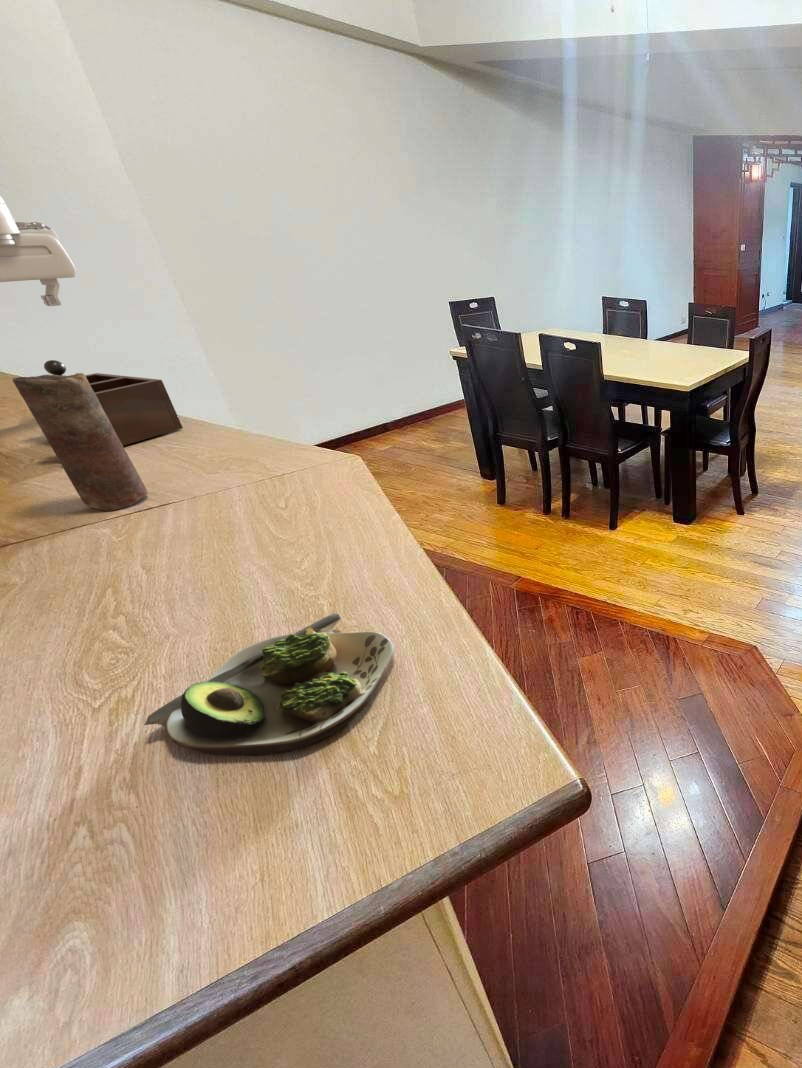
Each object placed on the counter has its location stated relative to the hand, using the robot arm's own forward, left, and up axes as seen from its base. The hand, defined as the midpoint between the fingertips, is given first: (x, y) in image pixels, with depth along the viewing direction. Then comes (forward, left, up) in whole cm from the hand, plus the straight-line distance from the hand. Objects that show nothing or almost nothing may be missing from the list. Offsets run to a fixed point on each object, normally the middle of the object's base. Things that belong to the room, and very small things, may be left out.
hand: (23, 308), depth 107 cm
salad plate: (+99, -54, -24) cm, 115 cm away
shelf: (+6, +1, -23) cm, 24 cm away
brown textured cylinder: (+38, -23, -24) cm, 51 cm away
